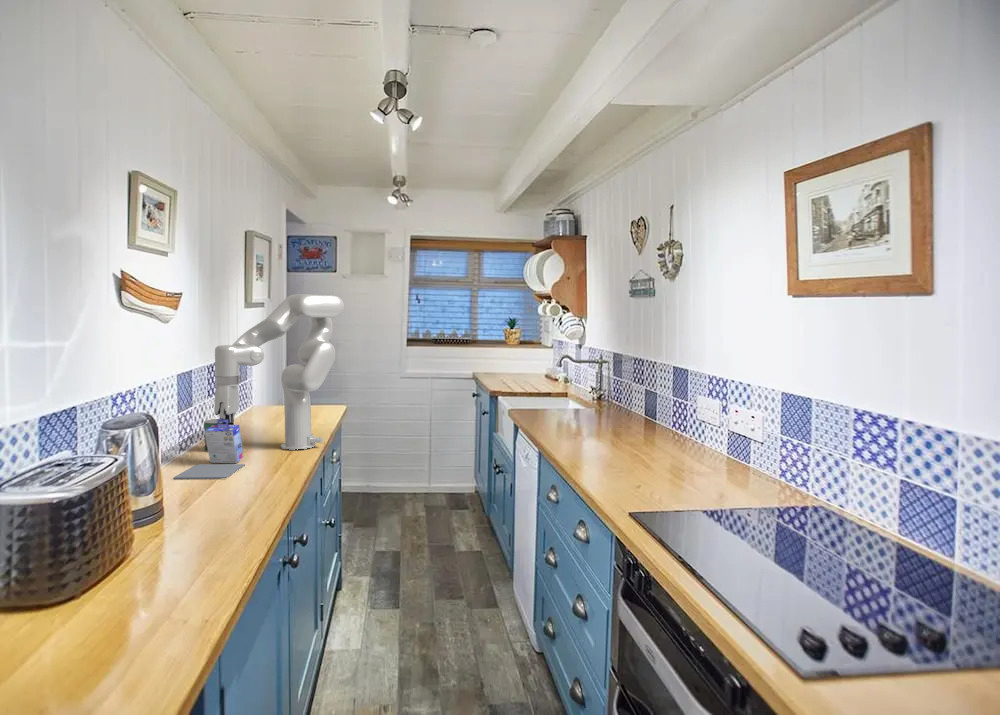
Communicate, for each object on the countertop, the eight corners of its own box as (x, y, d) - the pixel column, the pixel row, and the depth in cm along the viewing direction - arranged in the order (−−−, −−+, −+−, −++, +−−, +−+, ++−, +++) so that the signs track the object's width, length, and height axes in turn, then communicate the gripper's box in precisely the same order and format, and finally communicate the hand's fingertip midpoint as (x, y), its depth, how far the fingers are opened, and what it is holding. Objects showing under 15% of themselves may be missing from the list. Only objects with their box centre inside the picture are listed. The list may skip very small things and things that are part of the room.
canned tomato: (222, 452, 226) (221, 422, 225) (200, 452, 226) (199, 422, 225) (231, 447, 234) (231, 418, 233) (211, 447, 234) (210, 418, 233)
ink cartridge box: (245, 455, 215) (239, 418, 210) (238, 463, 209) (232, 425, 204) (217, 455, 215) (210, 417, 210) (209, 463, 210) (202, 425, 205)
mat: (245, 465, 207) (245, 464, 207) (226, 479, 191) (226, 477, 191) (196, 466, 206) (196, 464, 206) (173, 479, 190) (173, 477, 190)
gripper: (225, 378, 219) (226, 429, 221) (206, 383, 204) (207, 438, 206) (246, 379, 220) (247, 429, 221) (229, 383, 205) (230, 438, 206)
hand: (228, 433), depth 213 cm, fingers closed
